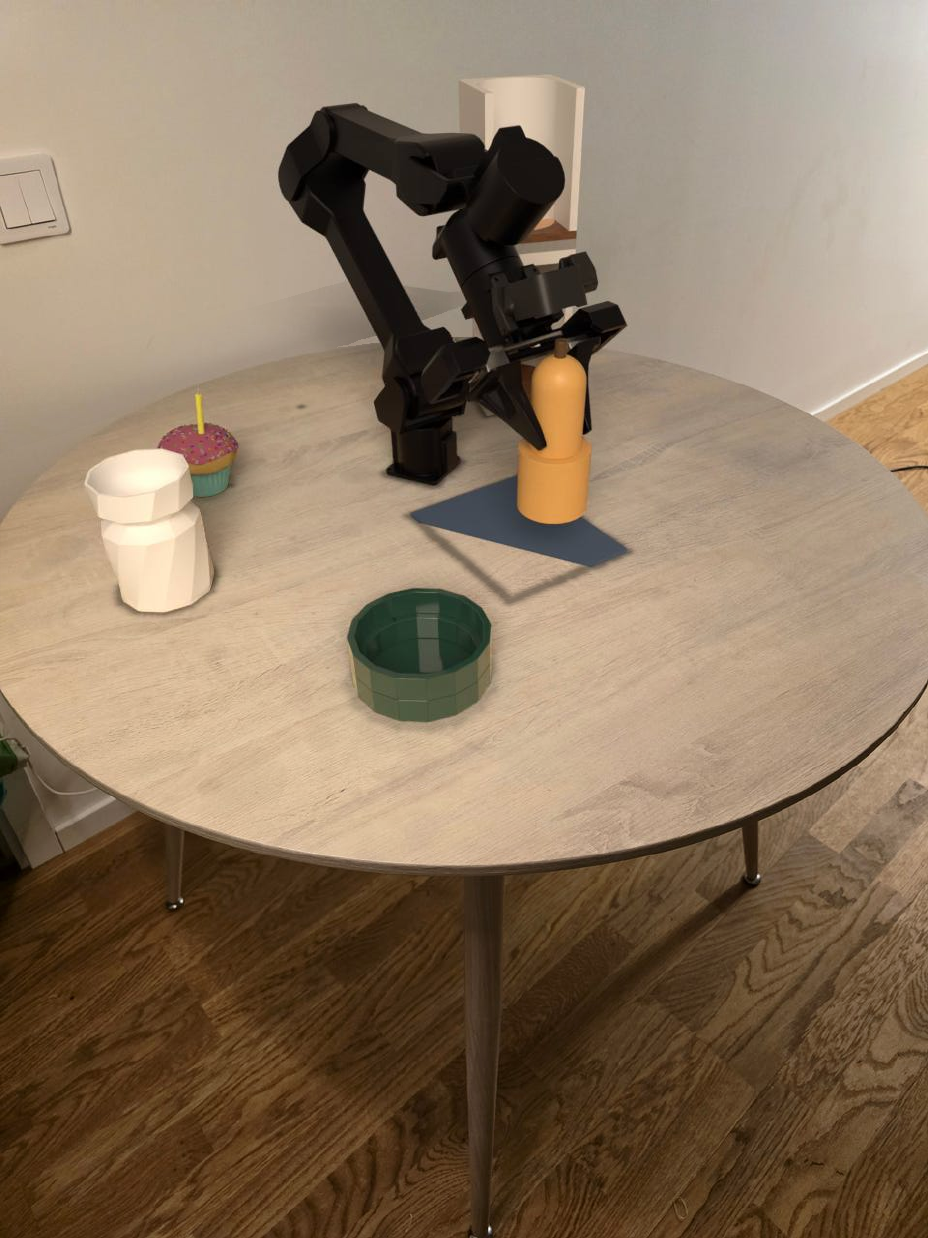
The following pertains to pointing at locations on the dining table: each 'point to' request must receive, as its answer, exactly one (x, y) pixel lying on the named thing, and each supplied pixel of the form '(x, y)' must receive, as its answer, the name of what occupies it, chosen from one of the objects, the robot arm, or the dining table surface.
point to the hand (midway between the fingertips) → (565, 440)
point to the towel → (519, 526)
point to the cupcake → (203, 452)
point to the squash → (556, 443)
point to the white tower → (557, 124)
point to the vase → (151, 528)
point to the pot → (420, 654)
